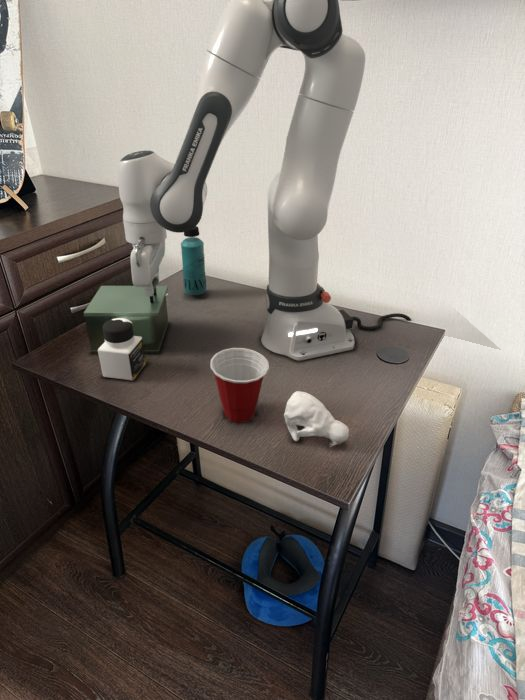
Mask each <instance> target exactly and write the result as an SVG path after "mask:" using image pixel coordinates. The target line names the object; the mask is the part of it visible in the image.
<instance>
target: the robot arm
mask: <svg viewBox="0 0 525 700" xmlns="http://www.w3.org/2000/svg"><path fill="white" fill-rule="evenodd" d="M340 9H341V8H340V2H339V0H229V1H228V3H227V5H226V6H225V8H224V10H223V11H222V13H221V15H220V17H219V19H218V21H217V23H216V25H215V26H214V29H213V31H212V33H211V36H210V38H209V41H208V43H207V46H206V49H205V51H204V54H203V57H202V60H201V64H200V67H199V72H198V76H197V79H196V80H197V81H196V86H195V92H194V100H193V107H192V111H191V117H190V122H189V125H188V129H187V132H186V134H185V137H184V139H183V142H182V144H181V147H180V150H179V152H178V155H177V157H176V160H175V163H173V162H171V161H169V160H167V159H164V158H163V157H161V156H159V155H158V153H156V152H155V151H153V150H139V151H135V152H131V153H128V154H126V155H125V156H123V157H122V158H121V159H120V160H119V162H118V165H117V183H118V193H119V199H120V202H121V204H122V209H123V211H122V223H123V230H124V237H125V241H126V242H127V243H129V244H132V248H133V249H132V250H131V251H130V258H129V259H130V270H131V271H130V272H131V281H132V284H133V285H132V286H135V287H144V289H145V295H146V296H153V294H154V287H153V285H152V281H153V279H154V278H156V279H157V280H158V283H157V285H158V284H159V283H160V277H159V276H160V275H159V274H160V265H161V263H162V262H163V260H164V257H165V254H166V239H167V237H168V236H167V231H169V232H171V233H176V234H177V233H178V234H180V233H181V234H182V233H184V232H187V231H189V230H191V229H193V228H194V227H195V226H197V225H198V224H199V223H200V221H201V220H202V216H203V211H204V206H205V203H206V200H207V195H208V186H207V185H208V184H207V183H206V180H207V178H208V175H209V173H210V171H211V168H212V165H213V163H214V161H215V157H216V156H217V153H218V150H219V148H220V146H221V145H222V142H223V141H224V139H225V137H226V135H227V133H228V132H229V131H230V129H231V128H232V127H233V125H234V124H235V123H236V121H237V120H238V119H239V118H240V116H241V114H242V113H243V112H244V110H245V109H246V107H247V106H248V104H249V103H250V101H251V99H252V98H253V95H254V94H255V92H256V90H257V88H258V86H259V83H260V81H261V78H262V77H263V74H264V71H265V69H266V66H267V64H268V62H269V60H270V58H271V56H272V55H273V53H274V52H275V51H276V50H278V49H279V48H281V49H288V50H293V51H297V52H301V54H302V56H303V59H304V74H303V76H302V81H301V85H300V88H299V91H298V92H299V93H298V95H297V98H296V102H295V106H294V109H293V114H292V116H291V120H290V124H289V127H288V132H287V135H286V139H285V148H284V152H283V158H282V163H281V167H280V171H279V172H277V173H276V174H275V175H274V176H273V178H272V179H271V181H270V183H269V186H268V189H267V234H268V237H267V238H268V284H267V285H266V293H265V308H266V310H267V311H266V318H265V323H264V328H263V332H262V335H261V338H260V342H261V344H262V345H263V346H264V348H265V349H266V350H268V351H271V352H273V353H275V354H278V355H281V356H282V355H283V356H286V357H288V358H290V359H292V360H294V361H297V362H298V361H301V362H302V361H305V360H310V359H315V358H319V357H325V356H328V355H333V354H337V353H343V352H347V351H352V350H353V349H354V348H355V337H354V335H353V332H352V331H351V329H353V327H354V322H356V325H357V328H359V329H360V330H364V331H375V330H379V329H380V328H382V327H383V321H385V320H387V319H391V318H403V319H405V320H406V321H407V322H411V321H412V319H411V317H410V316H408V315H407V314H405V313H401V312H400V313H399V312H397V313H396V312H395V313H394V312H393V313H389V314H385V315H382V316H380V317H378V321H377V322H378V323H377V324H376V325H371V326H369V325H368V326H367V325H363V324H362V320H361V318H360V317H358V316H351V315H350V314H349V313H347V312H346V311H345V310H344V309H339V310H338V308H336V307H335V306H334V305H332V304H331V303H330V301H331V300H332V296H331V295H330V293H329V292H328V291H325V288H324V287H322V286H321V285H320V283H318V276H319V260H320V259H319V258H320V251H319V237H318V235H319V234H320V233H321V232H322V231H323V229H324V228H325V226H326V224H327V221H328V214H329V207H330V203H331V200H332V194H333V190H334V187H335V186H334V185H335V181H336V175H337V171H338V164H339V161H340V157H341V152H342V149H343V146H344V142H345V140H346V137H347V133H348V132H349V131H348V130H349V128H350V125H351V123H352V118H353V116H354V113H355V111H356V110H355V109H356V107H357V104H358V99H359V96H360V92H361V89H362V83H363V80H364V79H363V78H364V73H365V67H366V53H365V50H364V48H363V46H362V45H361V44H360V43H359V42H358V41H357V40H356V39H354V38H352V37H350V36H348V35H345V34H343V23H342V17H341V10H340Z"/></svg>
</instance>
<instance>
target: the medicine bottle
mask: <svg viewBox="0 0 525 700" xmlns="http://www.w3.org/2000/svg"><path fill="white" fill-rule="evenodd" d="M103 333H104V338H105V342H104V343H103V344H102V345H101V347H100V348H99V349H98V353H97V354H98V358H99V365H100V367H101V374H102V377H104V378H109V379H118V380H125V381H134V380H135V379H136V378H137V376H138V375H139V373H141V372H142V371H141V370H142V369H143V368H144V367H145V366H146V364H147V361H146V355H145V354H146V353H144V346H143V339H142V337H140V336H134V332H133V326H132V322H131V321H130V320H128V319H125V318H115V319H111V320H109V321H107V322H106V323H105V324H104V325H103Z"/></svg>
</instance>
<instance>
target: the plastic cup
mask: <svg viewBox="0 0 525 700" xmlns="http://www.w3.org/2000/svg"><path fill="white" fill-rule="evenodd" d="M269 369H270V366H269V360H268V359H267V358H266V357H265V355H263V354H261V353H260V352H258V351H256V350H254V349H250V348H247V347H246V348H245V347H231V348H226V349H222V350H220V351H218V352H216V353H215V354H214V355H213V356H212V358H211V359H210V370H211V371H212V373H213V376H214V379H215V381H216V386H217V390H218V391H217V392H218V394H219V398H220V403H221V405H222V410H223V414H224V415H225V417H226V418H227V420H229V421H231V422H233V423H245V422H249V421H250V420H251V419H253V417H254V415H255V413H256V409H257V404H258V401H259V396H260V394H261V393H260V392H261V388H262V383H263V380H264V377H265V376H266V375H267V373H268V371H269Z"/></svg>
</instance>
